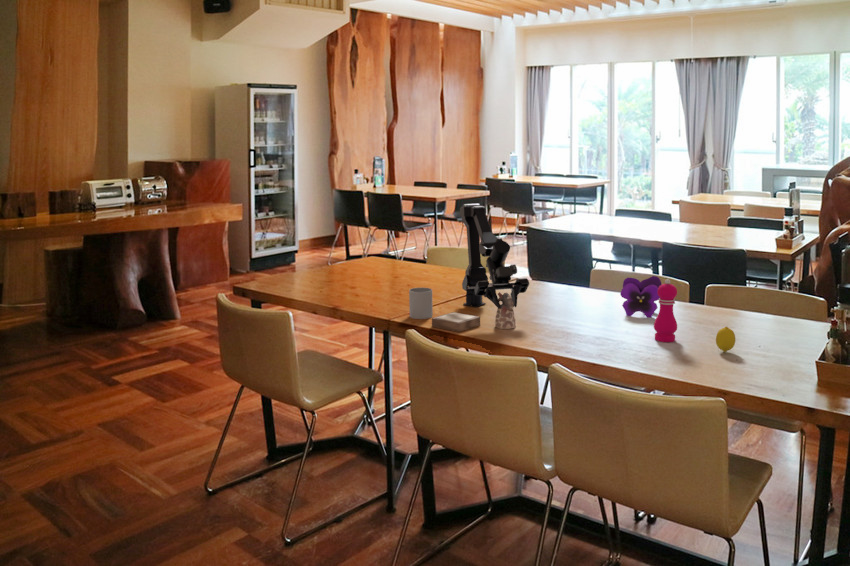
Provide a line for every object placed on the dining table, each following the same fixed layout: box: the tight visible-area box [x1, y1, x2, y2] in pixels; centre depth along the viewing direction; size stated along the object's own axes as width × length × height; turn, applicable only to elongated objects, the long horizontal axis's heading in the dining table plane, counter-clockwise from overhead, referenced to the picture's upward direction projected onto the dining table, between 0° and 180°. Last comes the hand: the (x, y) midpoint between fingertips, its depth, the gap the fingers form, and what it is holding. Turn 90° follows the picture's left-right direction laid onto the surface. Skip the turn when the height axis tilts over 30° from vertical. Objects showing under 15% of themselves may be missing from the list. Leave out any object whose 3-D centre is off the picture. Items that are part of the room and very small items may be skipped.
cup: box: [408, 287, 433, 320], centre depth 282 cm, size 8×8×10 cm
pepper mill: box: [653, 278, 678, 343], centre depth 246 cm, size 7×7×20 cm
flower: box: [620, 275, 663, 318], centre depth 284 cm, size 15×15×14 cm
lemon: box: [715, 326, 736, 353], centre depth 233 cm, size 6×6×8 cm
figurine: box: [494, 292, 517, 330], centre depth 266 cm, size 7×7×12 cm
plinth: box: [431, 311, 481, 333], centre depth 269 cm, size 12×12×3 cm
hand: (507, 307), depth 264 cm, fingers closed on figurine, 6 cm apart
